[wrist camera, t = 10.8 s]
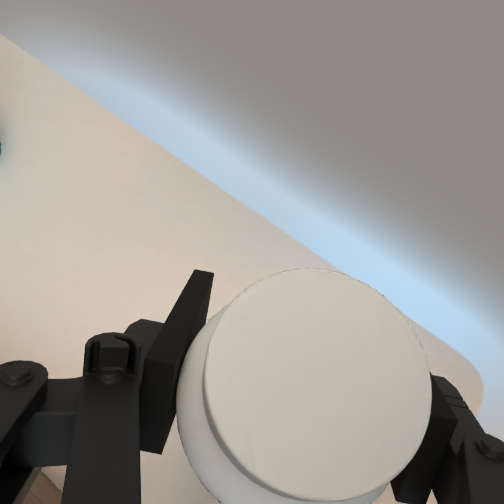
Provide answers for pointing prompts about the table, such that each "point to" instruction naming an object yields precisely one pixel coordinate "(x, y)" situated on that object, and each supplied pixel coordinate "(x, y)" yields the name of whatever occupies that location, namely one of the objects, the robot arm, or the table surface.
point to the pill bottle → (303, 393)
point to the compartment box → (43, 492)
